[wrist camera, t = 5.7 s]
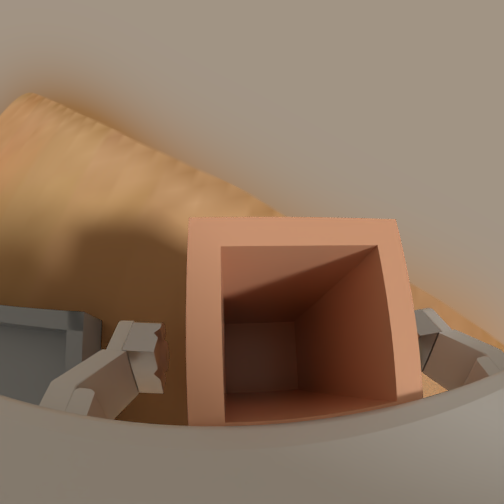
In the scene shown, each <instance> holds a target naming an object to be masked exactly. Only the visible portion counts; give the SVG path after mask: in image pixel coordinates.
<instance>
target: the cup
mask: <svg viewBox="0 0 504 504" xmlns="http://www.w3.org/2000/svg"><path fill="white" fill-rule="evenodd" d="M186 378H187V408H188V426H247V425H266V424H279V423H291V422H300V421H309V420H317V419H325V418H332V417H338V416H344V415H350V414H356V413H361V412H366V411H371V410H376V409H381V408H386V407H390V406H395V405H399V404H403V403H407V402H411V401H415V400H419V399H422V398H423V391H422V375H421V363H420V352H419V343H418V335H417V327H416V319H415V312H414V306H413V300H412V294H411V288H410V282H409V277H408V272H407V267H406V262H405V257H404V253H403V248H402V243H401V239H400V235H399V231H398V227H397V223H396V219H367V218H323V217H197V218H189V227H188V249H187V280H186Z"/></svg>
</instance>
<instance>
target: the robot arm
mask: <svg viewBox="0 0 504 504" xmlns="http://www.w3.org/2000/svg"><path fill="white" fill-rule="evenodd" d="M414 312H415V319H416V327H417V335H418V343H419V352H420V363H421V372H423V373H424V374H425V375H427V376H428V377H430V378H431V379H432V380H434V381H435V382H437V383H438V384H440V385H441V386H442V387H444V388H445V389H447V390H448V391H446V392H443V393H439V394H436V395H433V396H429V397H426V398H422V399H419V400H415V401H411V402H407V403H403V404H399V405H395V406H390V407H386V408H381V409H376V410H371V411H366V412H361V413H356V414H350V415H344V416H338V417H332V418H325V419H317V420H309V421H300V422H291V423H279V424H266V425H247V426H182V425H163V424H150V423H139V422H129V421H120V420H114V419H115V418H116V417H117V416H118V414H119V413H120V412H121V411H122V410H123V409H124V408H125V407H126V406H127V405H128V404H129V403H130V402H131V401H132V400H133V399H134V398H135V397H136V396H137V395H138V394H139V393H162V394H164V388H165V383H166V376H165V372H166V371H167V370H168V367H169V347H168V343H167V342H166V341H165V335H166V329H165V324H164V323H163V322H147V321H127V320H121V321H119V322H118V325H117V327H116V329H115V331H114V333H113V335H112V338H111V340H110V342H109V344H108V346H107V349H106V350H105V349H102V350H100V351H99V352H97V353H95V354H94V355H92V356H91V357H89V358H88V359H86V360H84V361H83V362H81V363H80V364H78V365H77V366H75V367H73V368H72V369H70V370H69V371H67V372H65V373H64V374H62V375H61V376H59V377H58V378H56V379H54V380H53V381H51V383H50V385H49V387H48V389H47V391H46V392H45V394H44V396H43V398H42V400H41V402H40V404H39V405H35V404H31V403H27V402H23V401H20V400H16V399H13V398H9V397H6V396H3V395H0V504H504V353H503V352H502V351H501V350H500V349H498V348H496V347H493V346H491V345H489V344H487V343H484V342H482V341H480V340H477V339H475V338H473V337H471V336H468V335H466V334H464V333H462V332H459V331H457V330H452V329H451V328H450V327H449V326H448V325H447V324H446V323H445V322H444V321H443V320H442V319H441V318H440V316H439V315H438V314H437V313H436V312H435V311H434V310H433V309H431V308H425V309H419V310H414Z"/></svg>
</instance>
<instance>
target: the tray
mask: <svg viewBox="0 0 504 504" xmlns="http://www.w3.org/2000/svg"><path fill="white" fill-rule="evenodd" d="M101 331H102V321H101V320H99V319H97V318H95V317H93V316H91V315H89V314H87V313H86V312H78V311H63V310H49V309H36V308H25V307H14V306H5V305H0V395H3V396H6V397H9V398H13V399H16V400H20V401H23V402H27V403H31V404H35V405H39V404H40V402H41V400H42V398H43V396H44V394H45V392H46V391H47V389H48V387H49V385H50V383H51V381H53V380H54V379H56V378H58V377H59V376H61V375H62V374H64V373H65V372H67V371H69V370H70V369H72V368H73V367H75V366H77V365H78V364H80V363H81V362H83V361H84V360H86V359H88V358H89V357H91V356H92V355H94V354H95V353H97V352H99V351H100V350H101Z"/></svg>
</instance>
